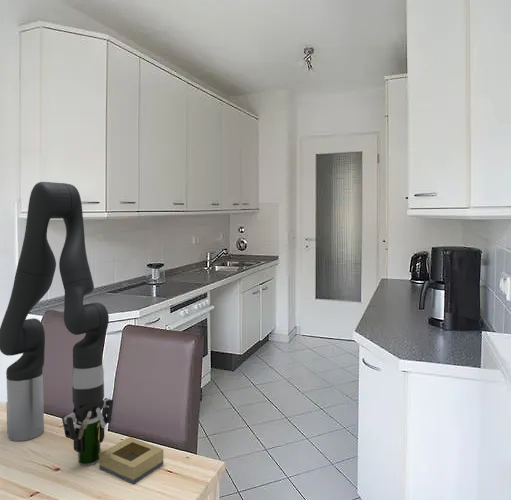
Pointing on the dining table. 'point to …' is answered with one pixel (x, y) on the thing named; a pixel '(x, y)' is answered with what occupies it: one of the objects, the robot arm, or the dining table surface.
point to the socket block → (131, 460)
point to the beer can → (90, 442)
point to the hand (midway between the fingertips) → (89, 446)
